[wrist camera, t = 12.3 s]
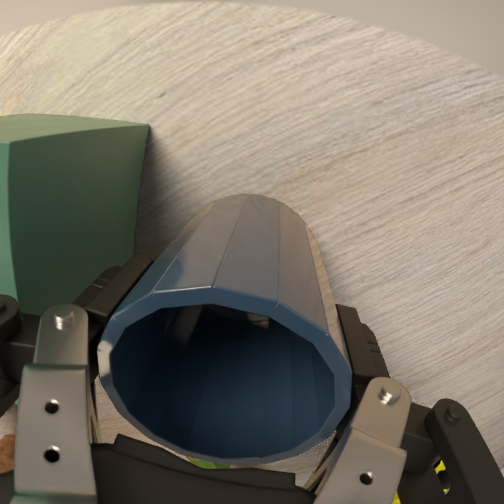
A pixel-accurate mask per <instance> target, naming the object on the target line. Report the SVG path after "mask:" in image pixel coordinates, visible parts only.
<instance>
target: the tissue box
mask: <svg viewBox="0 0 504 504" xmlns="http://www.w3.org/2000/svg"><path fill="white" fill-rule="evenodd" d="M148 131H149V124H141V123H134V122H126V121H118V120H109V119H99V118H89V117H77V116H64V115H48V114H18V115H8V116H0V294H5V295H9V296H12V297H14V298H15V299H16V300H17V302H18V305H19V310H20V313H26V314H33V315H42V313H43V312H44V311H45V310H46V309H47V308H48V307H50V306H52V305H55V304H60V303H70V304H71V303H72V302H73V301H74V300H75V299H76V298H77V297H78V296H79V295H80V294H81V293H82V292H83V291H84V290H85V289H86V288H87V287H88V286H89V285H91V284H92V282H93V281H94V280H95V279H97V278H98V276H100V275H101V274H102V273H103V272H104V271H105V270H106V269H109V268H111V267H114V266H116V265H118V266H123V265H124V264H125V263H126V262H127V261H128V260H129V259H130V258H131V257H132V256H133V253H134V240H135V229H136V219H137V209H138V200H139V192H140V184H141V176H142V169H143V162H144V155H145V149H146V143H147V137H148ZM18 401H19V398H18V399H17V400H16V401H15V402H14V403H15V404H16V405H18Z"/></svg>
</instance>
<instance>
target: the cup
mask: <svg viewBox="0 0 504 504" xmlns="http://www.w3.org/2000/svg"><path fill="white" fill-rule="evenodd" d="M96 351H97V361H98V369H99V378H100V381H101V384H102V386H103V388H104V390H105V391H106V393H107V395H108V396H109V398H110V400H111V401H112V403H113V404H114V406H115V408H116V409H117V411H118V412H119V413H120V414H121V415H122V416H123V417H124V418H125V419H126V420H127V421H128V422H130V423H131V424H132V425H133V426H134V427H135V428H137V429H138V430H139V431H140V432H141V433H143V434H144V435H145V436H146V437H148V438H149V439H151V440H153V441H155V442H157V443H159V444H161V445H163V446H165V447H167V448H169V449H171V450H173V451H175V452H177V453H179V454H182V455H185V456H188V457H192V458H196V459H200V460H205V461H209V462H214V463H219V464H225V465H253V464H267V463H271V462H275V461H279V460H282V459H286V458H290V457H293V456H297V455H300V454H302V453H304V452H306V451H307V450H309V449H310V448H312V447H314V446H315V445H317V444H318V443H320V442H321V441H323V440H325V439H326V438H328V437H329V436H330V435H331V434H332V433H333V432H334V431H335V429H336V428H337V426H338V425H339V423H340V422H341V420H342V419H343V417H344V416H345V414H346V413H347V411H348V410H349V408H350V406H351V391H352V369H351V365H350V361H349V357H348V353H347V349H346V345H345V341H344V337H343V333H342V329H341V325H340V321H339V317H338V314H337V310H336V306H335V303H334V299H333V295H332V292H331V288H330V284H329V281H328V277H327V274H326V270H325V267H324V264H323V260H322V257H321V253H320V250H319V247H318V244H317V243H316V241H315V238H314V236H313V234H312V232H311V230H310V228H309V227H308V225H307V224H306V223H305V221H304V220H303V219H302V218H301V217H300V216H299V215H298V214H297V213H296V212H295V211H294V210H292V209H291V208H290V207H288V206H286V205H285V204H283V203H281V202H279V201H277V200H275V199H272V198H269V197H266V196H261V195H255V194H239V195H232V196H227V197H224V198H221V199H219V200H216V201H214V202H212V203H210V204H209V205H207V206H206V207H204V208H203V209H202V210H200V211H199V212H198V213H197V214H195V215H194V216H193V217H192V218H191V219H190V220H189V221H188V223H187V224H186V225H185V226H184V227H183V228H182V230H181V231H180V232H179V233H178V234H177V235H176V237H175V238H174V239H173V240H172V241H171V243H170V244H169V245H168V246H167V247H166V249H165V250H164V251H163V252H162V253H161V255H160V256H159V257H158V258H157V259H156V261H155V262H154V263H153V264H152V265H151V267H150V268H149V269H148V270H147V272H146V273H145V274H144V275H143V277H142V278H141V279H140V280H139V282H138V283H137V284H136V285H135V287H134V288H133V289H132V290H131V292H130V293H129V294H128V295H127V297H126V298H125V299H124V301H123V302H122V303H121V304H120V306H119V307H118V308H117V310H116V311H115V312H114V313H113V315H112V316H111V318H110V320H109V322H108V324H107V326H106V328H105V330H104V332H103V334H102V336H101V338H100V340H99V342H98V344H97V348H96Z"/></svg>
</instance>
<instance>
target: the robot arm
mask: <svg viewBox="0 0 504 504" xmlns="http://www.w3.org/2000/svg"><path fill="white" fill-rule="evenodd" d="M153 263H154V260H150V259H146V258H142V257H138V256H132V257H131V258H130V259H129V260H128V261H127V262H126V263H125V264H124V265H123V266H118V265H116V266H114V267H111V268H109V269H106V270H105V271H104V272H103V273H102V274H101V275H100V276H98V278H97V279H95V280H94V281H93V282H92V284H91V285H89V286H88V287H87V288H86V289H85V290H84V291H83V292H82V293H81V294H80V295H79V296H78V297H77V298H76V299H75V300H74V301H73V302H72V303H71V304H70V303H60V304H55V305H52V306H50V307H48V308H47V309H46V310H45V311H44V312H43V313H42V315H33V314H26V313H20V310H19V305H18V302H17V300H16V299H15V298H14V297H12V296H9V295H5V294H0V417H1V416H2V415H3V414H4V413H5V412H6V411H7V410H8V409H9V408H10V407H11V406H12V405H13V403H14V402H15V401H16V400H17V399H18V398H19V401H18V410H17V421H16V434H15V455H14V469H12V470H9V471H7V472H4V473H1V474H0V504H392V503H393V500H394V497H395V494H396V491H397V494H398V497H399V500H400V503H401V504H504V477H503V476H502V473H501V471H500V470H499V468H498V466H497V464H496V462H495V460H494V458H493V456H492V454H491V452H490V450H489V449H488V447H487V445H486V443H485V441H484V439H483V438H482V436H481V434H480V432H479V430H478V429H477V427H476V425H475V423H474V422H473V420H472V418H471V416H470V415H469V413H468V412H467V410H466V409H465V408H464V407H463V406H462V405H461V404H460V403H458V402H456V401H454V400H451V399H441V400H439V401H437V403H436V404H435V405H434V406H433V408H432V409H430V408H427V407H424V406H421V405H418V404H415V403H413V402H411V396H410V394H409V392H408V390H407V389H406V388H405V387H404V386H403V385H402V384H401V383H399V382H398V381H396V380H393V379H391V378H390V376H389V373H388V370H387V367H386V364H385V362H384V359H383V356H382V354H380V353H381V351H380V348H379V346H378V343H377V340H376V337H375V335H374V333H373V332H372V331H371V330H370V328H369V327H368V326H367V325H366V324H362V323H361V322H360V319H359V317H358V314H357V311H356V309H355V308H353V307H348V306H343V305H339V304H335V306H336V310H337V314H338V317H339V321H340V325H341V329H342V333H343V337H344V341H345V345H346V349H347V353H348V357H349V361H350V365H351V369H352V391H351V406H350V408H349V410H348V411H347V413H346V414H345V416H344V417H343V419H342V420H341V422H340V423H339V425H338V426H337V428H336V434H335V436H334V437H333V438H332V440H331V442H330V443H329V445H328V447H327V449H326V451H325V452H324V454H323V456H322V458H321V459H320V461H319V463H318V465H317V466H316V468H315V470H314V471H313V473H312V475H311V476H310V478H309V479H308V481H307V482H306V484H305V485H304V487H303V488H302V487H299V486H296V485H295V473H288V472H279V471H271V470H264V469H257V468H234V469H206V468H202V467H199V466H197V465H195V464H193V463H190V462H188V461H186V460H184V459H182V458H180V457H178V456H176V455H174V454H172V453H170V452H169V451H167V450H165V449H163V448H161V447H158V446H155V445H152V444H149V443H145V442H142V441H139V440H136V439H133V438H130V437H127V436H124V435H122V434H119V433H118V435H117V437H116V439H115V441H114V444H109V443H102V442H101V437H100V430H99V421H98V410H97V398H96V385H95V379H96V377H97V376H98V374H99V369H98V361H97V351H96V348H97V344H98V342H99V340H100V338H101V336H102V334H103V332H104V330H105V328H106V326H107V324H108V322H109V320H110V318H111V316H112V315H113V313H114V312H115V311H116V310H117V308H118V307H119V306H120V304H121V303H122V302H123V301H124V299H125V298H126V297H127V295H128V294H129V293H130V292H131V290H132V289H133V288H134V287H135V285H136V284H137V283H138V282H139V280H140V279H141V278H142V277H143V275H144V274H145V273H146V272H147V270H148V269H149V268H150V267H151V265H152V264H153ZM440 458H441V460H442V462H443V464H444V466H445V469H446V471H447V473H448V476H449V478H450V482H451V486H450V490H449V492H448V493H447V494H446V495H445V492H444V490H443V487H442V485H441V483H440V480H439V478H438V475H437V473H436V470H435V468H434V466H433V465H434V464H435V463H436V462H437V461H438V460H439V459H440Z"/></svg>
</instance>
